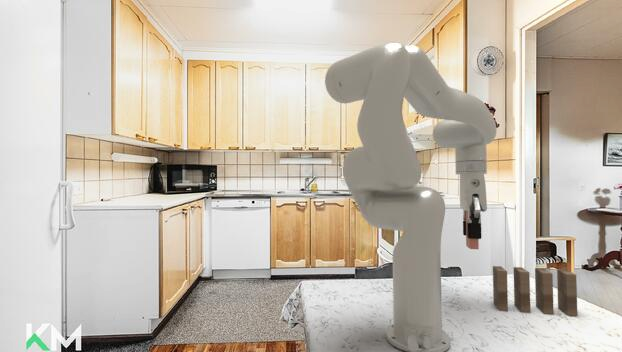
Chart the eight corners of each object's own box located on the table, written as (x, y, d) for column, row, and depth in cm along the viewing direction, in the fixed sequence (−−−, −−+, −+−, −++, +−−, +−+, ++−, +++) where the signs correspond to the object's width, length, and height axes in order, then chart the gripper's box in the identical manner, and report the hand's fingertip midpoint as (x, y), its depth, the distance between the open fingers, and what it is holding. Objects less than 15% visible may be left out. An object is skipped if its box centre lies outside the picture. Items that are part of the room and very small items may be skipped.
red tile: (478, 249, 86) (478, 210, 86) (470, 249, 86) (469, 210, 86) (474, 246, 91) (473, 209, 91) (466, 245, 91) (465, 209, 91)
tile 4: (507, 311, 84) (507, 271, 84) (499, 310, 84) (498, 270, 84) (501, 304, 89) (501, 266, 89) (493, 303, 89) (492, 266, 89)
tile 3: (530, 313, 83) (529, 272, 83) (521, 312, 83) (520, 271, 83) (523, 305, 87) (522, 267, 88) (514, 305, 88) (513, 267, 88)
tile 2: (553, 314, 81) (552, 273, 82) (544, 314, 82) (543, 273, 82) (544, 307, 86) (543, 268, 86) (535, 306, 87) (534, 268, 87)
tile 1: (577, 316, 80) (576, 274, 80) (567, 315, 81) (566, 274, 81) (567, 309, 85) (566, 269, 85) (558, 308, 85) (557, 269, 86)
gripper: (495, 166, 80) (496, 242, 79) (478, 170, 96) (479, 233, 96) (461, 167, 82) (462, 241, 81) (450, 170, 98) (451, 232, 98)
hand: (471, 236), depth 88 cm, fingers closed on red tile, 4 cm apart
